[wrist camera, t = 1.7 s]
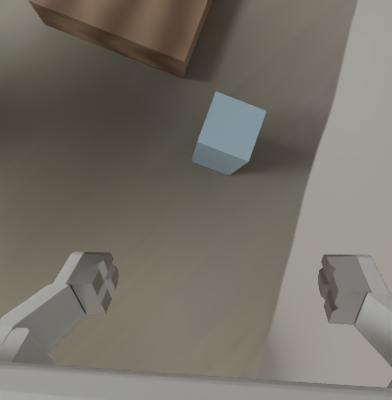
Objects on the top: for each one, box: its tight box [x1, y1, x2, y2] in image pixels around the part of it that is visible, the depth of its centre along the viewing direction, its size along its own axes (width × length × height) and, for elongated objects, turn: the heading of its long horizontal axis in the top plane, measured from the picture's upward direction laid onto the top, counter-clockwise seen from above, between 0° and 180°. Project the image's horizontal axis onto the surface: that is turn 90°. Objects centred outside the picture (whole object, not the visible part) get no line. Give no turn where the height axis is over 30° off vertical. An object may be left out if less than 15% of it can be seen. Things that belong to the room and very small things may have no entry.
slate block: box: [191, 91, 267, 175], centre depth 32 cm, size 5×5×10 cm
